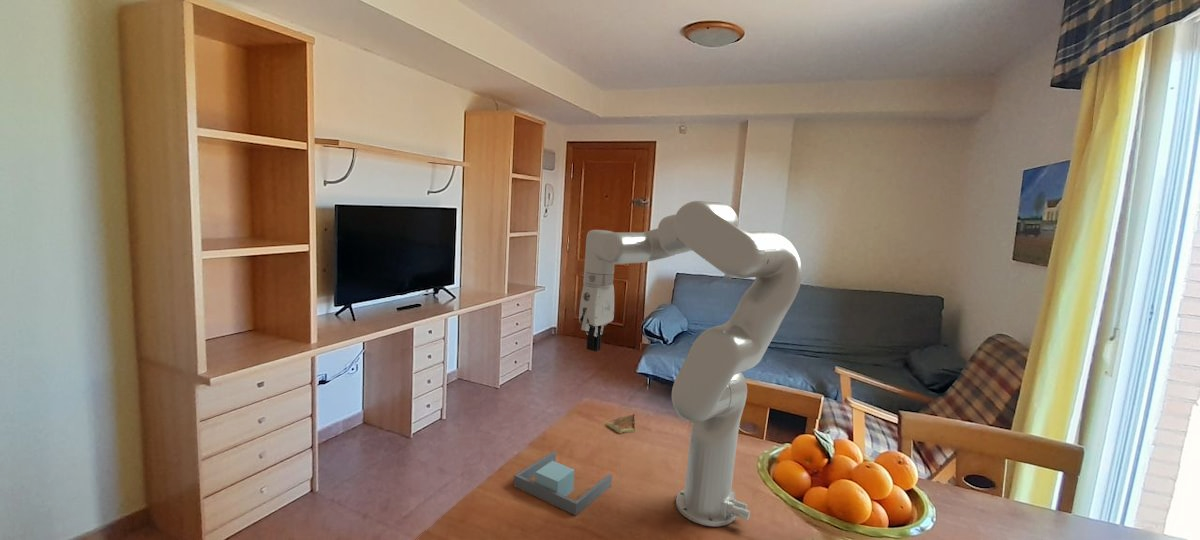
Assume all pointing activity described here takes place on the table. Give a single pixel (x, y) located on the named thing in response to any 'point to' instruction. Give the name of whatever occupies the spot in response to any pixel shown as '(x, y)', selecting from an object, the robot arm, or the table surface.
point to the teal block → (556, 477)
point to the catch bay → (553, 497)
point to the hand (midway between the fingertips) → (593, 349)
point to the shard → (623, 424)
